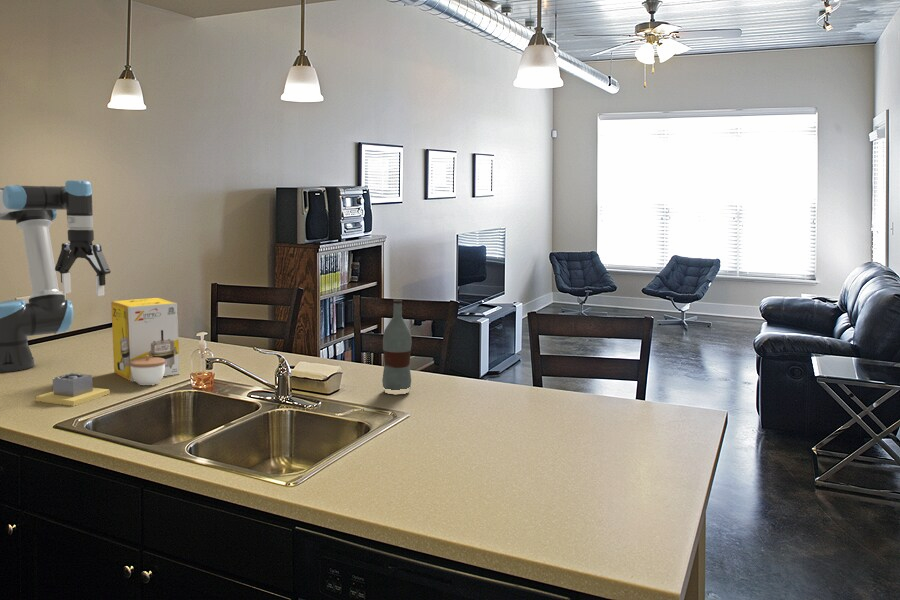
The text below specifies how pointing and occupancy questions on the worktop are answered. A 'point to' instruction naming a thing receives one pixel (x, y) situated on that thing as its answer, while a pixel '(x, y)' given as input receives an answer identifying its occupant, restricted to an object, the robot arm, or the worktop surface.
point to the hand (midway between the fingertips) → (83, 294)
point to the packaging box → (145, 333)
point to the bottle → (397, 351)
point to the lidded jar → (147, 370)
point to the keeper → (72, 400)
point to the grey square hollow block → (72, 385)
